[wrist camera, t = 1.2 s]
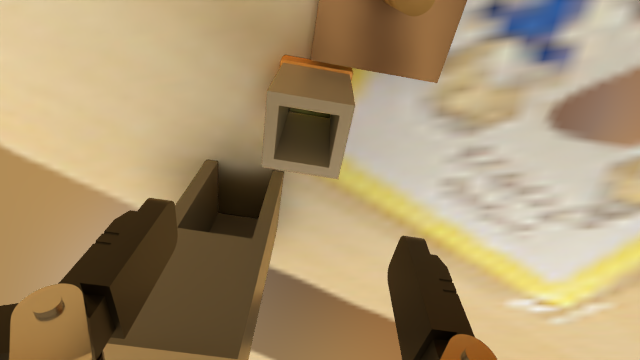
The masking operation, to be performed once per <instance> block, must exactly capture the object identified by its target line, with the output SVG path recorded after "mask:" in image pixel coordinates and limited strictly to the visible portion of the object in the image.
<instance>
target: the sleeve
mask: <svg viewBox="0 0 640 360" xmlns="http://www.w3.org/2000/svg"><path fill="white" fill-rule="evenodd" d="M352 75H353V72H352V68H351V67H346V66H340V65H334V64H329V63H323V62H318V61H312V60H310V59H305V58H299V57H294V56H288V55H284V56H283V57H282V59H281V60H280V69H279V71H278V72H277V74H276V76H275V78H274V80H273V81H272V83H271V85H270V87H269V88H268V90H267V100H266V113H265V126H264V139H263V152H262V165H261V167H265V168H271V169H277V170H284V171H290V172H296V173H303V174H309V175H315V176H322V177H328V178H334V179H338V177H339V173H340V169H341V164H342V160H343V156H344V151H345V147H346V143H347V139H348V134H349V130H350V126H351V121H352V117H353V113H354V108H355V102H354V96H353V90H352V84H351V80H352ZM289 107H291V108H297V109H303V110H309V111H315V112H321V113H327V114H331V116H330V118H325V117H319V116H313V115H307V114H301V113H295V112H289Z"/></svg>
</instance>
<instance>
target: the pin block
mask: <svg viewBox="0 0 640 360" xmlns="http://www.w3.org/2000/svg"><path fill="white" fill-rule="evenodd" d="M466 2H467V0H319V4H318V11H317V18H316V25H315V32H314V39H313V46H312V53H311V60H312V61H318V62H323V63H329V64H334V65H340V66H346V67H351V68H357V69H362V70H368V71H373V72H379V73H385V74H390V75H396V76H401V77H407V78H412V79H418V80H424V81H429V82H435V83H437V82H438V79H439V77H440V74H441V71H442V68H443V66H444V63H445V60H446V57H447V54H448V52H449V49H450V46H451V43H452V41H453V38H454V35H455V32H456V30H457V27H458V24H459V21H460V19H461V16H462V13H463V10H464V7H465V5H466Z"/></svg>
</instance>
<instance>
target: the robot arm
mask: <svg viewBox="0 0 640 360" xmlns="http://www.w3.org/2000/svg"><path fill="white" fill-rule="evenodd" d="M177 238H178V232H177V221H176V211H175V204H174V202H173V201H168V200H161V199H154V198H149V199H147V200H146V201H145V203H144V204H143V205H142V206H141V207H140V209H139V210H138V211H128V212H126V213H125V214H123V215H122V216H120V217H118V218H116V219H115V220H114V221H113V222H112V223H111V224H110V225H109V227H108V228H107V229H106V230H105V231H104V234H102V235H101V236H100V237H99V238H98V239H97V240H96V243H95V244H93V245H92V246H91V247H90V248H89V250H88V251H87V252H86V253H85V254H84V255H83V256H82V258H81V259H80V260H79V261H78V262H77V263H76V264H75V265H74V267H73V268H72V269H71V270H70V271H69V272H68V274H67V275H66V276H65V277H64V278H63V279H62V280H61V282H59V283H58V284H54V285H50V286H46V287H43V288H41V289H39V290H36V291H34V292H33V293H31V294H30V295H28V296H27V297H25V298H24V299H23V300H22V301H21V302H20V303H17V304H10V305H3V306H0V360H105V357H104V352H103V349H104V348H105V346H106V344H107V343H108V341H109V339H110V338H119V339H125V338H126V336H127V334H128V332H129V330H130V329H131V327H132V325H133V323H134V322H135V320H136V318H137V316H138V314H139V313H140V311H141V309H142V307H143V306H144V304H145V302H146V300H147V298H148V297H149V295H150V293H151V291H152V290H153V288H154V286H155V284H156V282H157V281H158V279H159V277H160V275H161V274H162V272H163V270H164V268H165V266H166V265H167V263H168V261H169V259H170V258H171V256H172V254H173V252H174V250H175V247H176V244H177ZM388 285H389V291H390V296H391V301H392V307H393V312H394V317H395V323H396V328H397V333H398V339H399V344H400V350H401V355H402V360H497V358H496V356H495V355H494V353H493V352H492V351H491V350H490V349H489V347H488V346H486V345H485V344H484V343H483V342H482V341H480V340H478V339H477V338H475V336H474V334H473V332H472V329H471V326H470V324H469V321H468V319H467V316H466V314H465V311H464V309H463V306H462V304H461V301H460V299H459V296H458V294H456V289H455V286H454V284H453V283H452V278H451V276H450V273H449V271H448V268H447V267H446V265H445V264H444V263H443V262H442V261H441V260H440V258H439V257H438V256H437V255H431V254H430V252H429V249H428V247H427V244H426V241H425V240H424V239H422V238H415V237H408V236H402V237H401V238H400V240H399V242H398V245H397V247H396V250H395V252H394V255H393V257H392V259H391V262H390V264H389V268H388Z"/></svg>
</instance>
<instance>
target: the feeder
mask: <svg viewBox="0 0 640 360" xmlns="http://www.w3.org/2000/svg"><path fill="white" fill-rule="evenodd" d="M283 176H284V172H282V171H276V170H273V172H272V175H271V179H270V182H269V185H268V188H267V192H266V195H265V198H264V201H263V205H262V208H261V211H260V215H259V218H258V219H255V218H249V217H242V216H235V215H229V214H222V213H218V161H212V160H206V161H205V163H204V164H203V166H202V167H201V169H200V170H199V171H198V173H197V174H196V176H195V177H194V179H193V180H192V182H191V183H190V185H189V186H188V188H187V189H186V191H185V192H184V193H183V195H182V196H181V198H180V199H179V201H178V202H177V204H176V205H175V211H176V221H177V232H178V238H177V244H176V247H175V250H174V252H173V254H172V256H171V258H170V259H169V261H168V263H167V265H166V266H165V268H164V270H163V272H162V274H161V275H160V277H159V279H158V281H157V282H156V284H155V286H154V288H153V290H152V291H151V293H150V295H149V297H148V298H147V300H146V302H145V304H144V306H143V307H142V309H141V311H140V313H139V314H138V316H137V318H136V320H135V322H134V323H133V325H132V327H131V329H130V330H129V332H128V334H127V336H126V338H125V339H119V338H110V339H109V341H108V343H107V344H106V346H105V348H104V349H103V352H104V357H105V360H248V359H249V355H250V350H251V345H252V341H253V336H254V332H255V327H256V323H257V318H258V313H259V309H260V304H261V300H262V295H263V291H264V286H265V281H266V277H267V273H268V268H269V263H270V259H271V254H272V250H273V245H274V241H275V236H276V232H277V225H278V217H279V209H280V201H281V192H282V184H283Z"/></svg>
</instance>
